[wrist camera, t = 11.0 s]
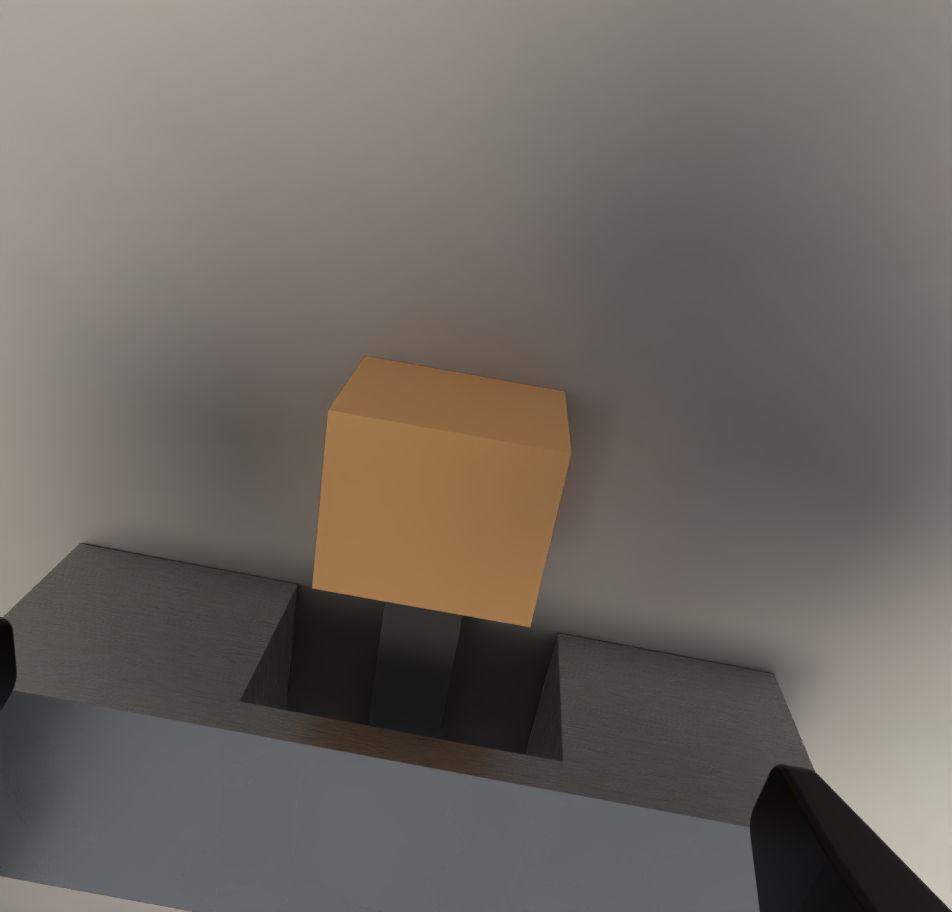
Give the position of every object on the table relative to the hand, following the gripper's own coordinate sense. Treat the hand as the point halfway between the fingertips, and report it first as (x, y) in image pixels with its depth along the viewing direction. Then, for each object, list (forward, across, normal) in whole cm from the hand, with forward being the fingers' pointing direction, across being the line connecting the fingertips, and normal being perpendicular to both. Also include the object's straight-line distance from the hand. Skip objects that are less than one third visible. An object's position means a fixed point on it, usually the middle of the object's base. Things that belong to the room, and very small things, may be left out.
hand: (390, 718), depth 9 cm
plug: (+8, 0, +5) cm, 9 cm away
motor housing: (+8, 0, +6) cm, 10 cm away
